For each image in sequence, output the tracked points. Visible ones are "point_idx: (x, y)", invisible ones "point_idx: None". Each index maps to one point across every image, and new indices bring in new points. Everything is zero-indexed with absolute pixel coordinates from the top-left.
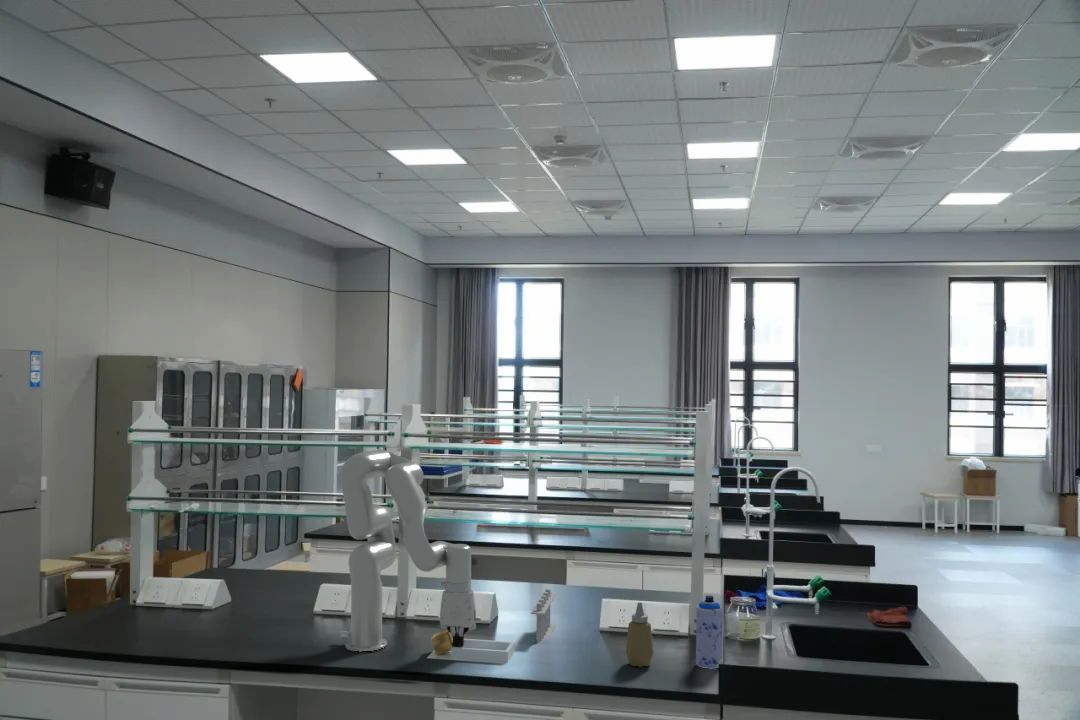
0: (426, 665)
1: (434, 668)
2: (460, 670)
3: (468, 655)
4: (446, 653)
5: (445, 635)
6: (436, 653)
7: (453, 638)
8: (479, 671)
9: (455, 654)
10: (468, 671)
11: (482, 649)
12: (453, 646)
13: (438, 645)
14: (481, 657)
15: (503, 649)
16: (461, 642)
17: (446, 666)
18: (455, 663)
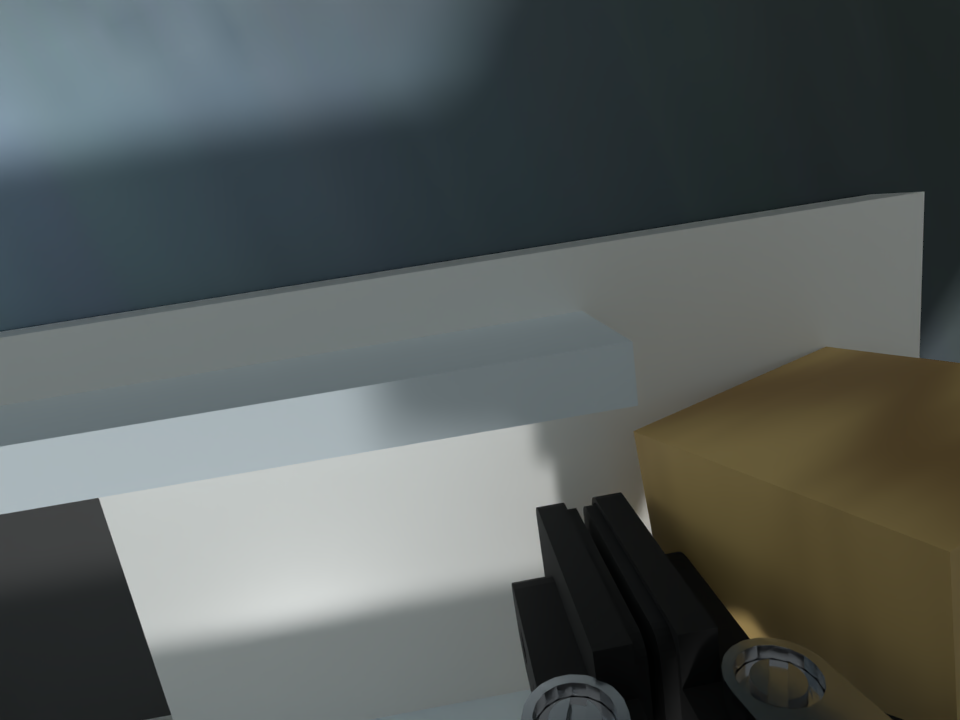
0: (843, 109)
1: (699, 27)
2: (319, 78)
3: (300, 367)
4: None
5: (940, 524)
6: (840, 351)
7: (725, 633)
8: (41, 137)
9: (524, 335)
10: (190, 78)
11: (3, 486)
12: None
13: (906, 394)
14: (83, 401)
15: None
16: (536, 617)
17: (574, 170)
18: None
